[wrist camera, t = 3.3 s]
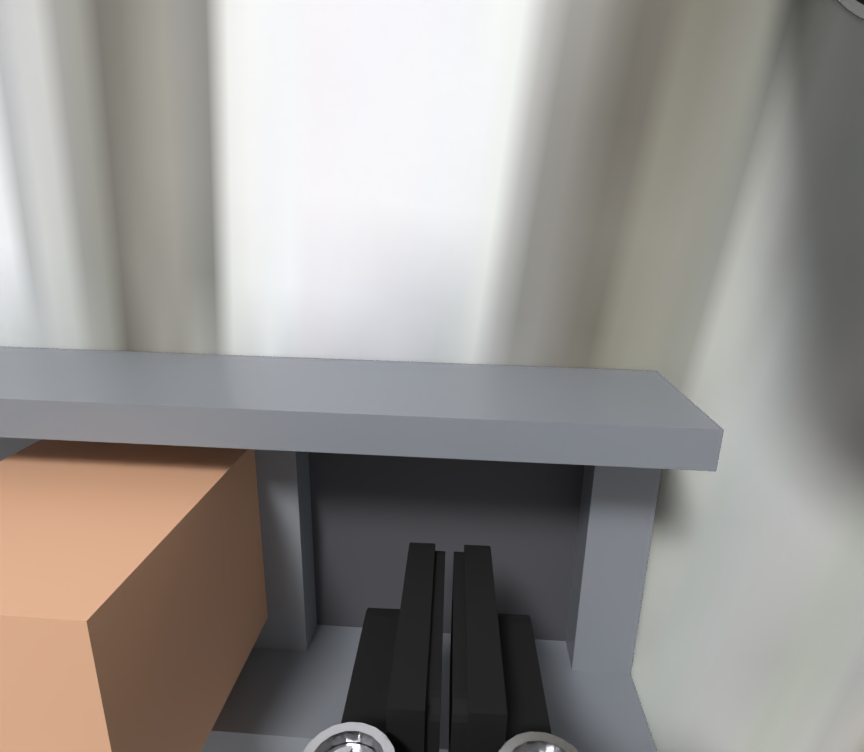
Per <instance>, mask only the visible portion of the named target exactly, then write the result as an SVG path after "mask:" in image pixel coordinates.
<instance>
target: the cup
mask: <svg viewBox="0 0 864 752" xmlns="http://www.w3.org/2000/svg"><path fill="white" fill-rule="evenodd" d="M838 1H839V2H840V3H841V4H842V5H843V6H844V7H845V8H847V9H848V10H849V11H851V12H852V13H854V14H855V15H857V16H858V17H860V18H862V19H864V0H838Z"/></svg>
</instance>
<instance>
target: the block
mask: <svg viewBox="0 0 864 752" xmlns="http://www.w3.org/2000/svg"><path fill="white" fill-rule="evenodd" d="M267 618H268V614H267V601H266V589H265V576H264V563H263V551H262V538H261V525H260V513H259V500H258V488H257V475H256V462H255V450H254V449H237V448H216V447H195V446H174V445H153V444H132V443H111V442H90V441H69V440H48V439H41V440H39V441H37V442H35V443H34V444H32V445H30V446H28V447H26V448H24V449H22V450H20V451H19V452H17V453H15V454H13V455H11V456H9V457H7V458H5V459H4V460H2V461H0V752H201V750H202V748H203V746H204V744H205V742H206V740H207V738H208V736H209V734H210V732H211V730H212V728H213V726H214V724H215V722H216V720H217V718H218V716H219V714H220V712H221V710H222V708H223V706H224V704H225V702H226V700H227V698H228V696H229V694H230V692H231V690H232V688H233V686H234V684H235V682H236V680H237V678H238V676H239V674H240V672H241V670H242V668H243V666H244V664H245V662H246V660H247V658H248V656H249V654H250V652H251V650H252V648H253V646H254V644H255V642H256V640H257V638H258V636H259V634H260V632H261V630H262V628H263V626H264V624H265V622H266V620H267Z"/></svg>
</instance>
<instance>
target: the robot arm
mask: <svg viewBox="0 0 864 752" xmlns="http://www.w3.org/2000/svg"><path fill="white" fill-rule="evenodd" d="M444 582H445V551H435V543H411V542H410V543H409V549H408V556H407V563H406V570H405V578H404V585H403V592H402V599H401V606H400V609H386V608H368V609H367V610H366V614H365V618H364V622H363V627H362V631H361V636H360V640H359V645H358V649H357V654H356V658H355V663H354V667H353V672H352V676H351V681H350V685H349V690H348V694H347V699H346V703H345V707H344V712H343V716H342V721H341V724H338V725H334V726H332V727H330V728H328V729H326V730H324V731H322V732H320V733H319V734H318V735H317V736H316V737H315V738H314V739H313V740H312V741H310V742H309V743H308V745H307V747H306V748H305V750H304V751H303V752H439V745H440V713H441V681H442V649H443V615H444ZM448 752H579V751H578V750H577V749H576V748H575V747H574V746H573V745H571V744H570V743H568V742H566V741H565V740H563V739H562V738H560V737H558V736H555V735H552V733H551V728H550V722H549V717H548V711H547V706H546V700H545V695H544V689H543V683H542V678H541V672H540V667H539V661H538V656H537V650H536V645H535V639H534V633H533V628H532V623H531V618H530V616H529V615H519V614H497V605H496V595H495V585H494V575H493V565H492V555H491V547H490V546H485V545H464V552H454V559H453V587H452V616H451V644H450V682H449V750H448Z"/></svg>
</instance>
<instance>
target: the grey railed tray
mask: <svg viewBox="0 0 864 752" xmlns="http://www.w3.org/2000/svg"><path fill="white" fill-rule="evenodd" d="M723 431H724V430H723V429H722V428H721V427H720V426H719V425H718V424H717V423H716V422H714V421H713V420H712V419H711V418H710V417H709V416H708V415H706V414H705V413H704V412H703V411H702V410H701V409H700V408H698V407H697V406H696V405H695V404H694V403H693V402H692V401H690V400H689V399H688V398H687V397H686V396H685V395H684V394H682V393H681V392H680V391H679V390H678V389H677V388H676V387H675V386H673V385H672V384H671V383H670V382H669V381H668V380H667V379H665V378H664V377H663V376H662V375H661V374H660V373H659V372H657V371H643V370H616V369H589V368H562V367H535V366H508V365H481V364H454V363H427V362H400V361H373V360H346V359H319V358H292V357H265V356H238V355H211V354H184V353H157V352H130V351H103V350H76V349H49V348H22V347H0V461H2V460H4V459H5V458H7V457H9V456H11V455H13V454H15V453H17V452H19V451H20V450H22V449H24V448H26V447H28V446H30V445H32V444H34V443H35V442H37V441H39V440H41V439H48V440H69V441H90V442H111V443H132V444H153V445H174V446H195V447H216V448H237V449H254V450H255V462H256V475H257V488H258V500H259V513H260V525H261V538H262V551H263V563H264V576H265V589H266V601H267V614H268V618H267V620H266V622H265V624H264V626H263V628H262V630H261V632H260V634H259V636H258V638H257V640H256V642H255V644H254V646H253V648H252V650H251V652H250V654H249V656H248V658H247V660H246V662H245V664H244V666H243V668H242V670H241V672H240V674H239V676H238V678H237V680H236V682H235V684H234V686H233V688H232V690H231V692H230V694H229V696H228V698H227V700H226V702H225V704H224V706H223V708H222V710H221V712H220V714H219V716H218V718H217V720H216V722H215V724H214V726H213V728H212V730H211V732H210V734H209V736H208V738H207V740H206V742H205V744H204V746H203V748H202V750H201V752H303V751H304V750H305V748H306V747H307V745H308V743H309V742H310V741H312V740H313V739H314V738H315V737H316V736H317V735H318V734H319V733H320V732H322V731H324V730H326V729H328V728H330V727H332V726H334V725H338V724H341V721H342V716H343V712H344V707H345V703H346V699H347V694H348V690H349V685H350V681H351V676H352V672H353V667H354V663H355V658H356V654H357V649H358V645H359V640H360V636H361V631H362V627H363V622H364V618H365V614H366V610H367V609H368V608H386V609H400V606H401V599H402V592H403V585H404V578H405V570H406V563H407V556H408V549H409V543H410V542H411V543H435V551H445V582H444V615H443V649H442V681H441V713H440V745H439V752H448V750H449V682H450V644H451V616H452V587H453V559H454V552H464V545H485V546H490V547H491V555H492V565H493V575H494V585H495V595H496V605H497V614H519V615H529V616H530V618H531V623H532V628H533V633H534V639H535V645H536V650H537V656H538V661H539V667H540V672H541V678H542V683H543V689H544V695H545V700H546V706H547V711H548V717H549V722H550V728H551V733H552V735H555V736H558V737H560V738H562V739H563V740H565V741H566V742H568V743H570V744H571V745H573V746H574V747H575V748H576V749H577V750H578V751H579V752H657V750H656V747H655V744H654V741H653V738H652V735H651V732H650V729H649V727H648V724H647V721H646V718H645V715H644V712H643V709H642V706H641V703H640V700H639V697H638V694H637V691H636V688H635V685H634V682H633V679H632V676H631V668H632V662H633V655H634V649H635V642H636V635H637V629H638V622H639V616H640V609H641V602H642V596H643V589H644V583H645V576H646V570H647V563H648V556H649V550H650V543H651V537H652V530H653V523H654V517H655V510H656V504H657V497H658V490H659V484H660V477H661V471H662V469H678V470H699V471H716V470H717V464H718V459H719V453H720V448H721V442H722V437H723Z"/></svg>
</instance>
